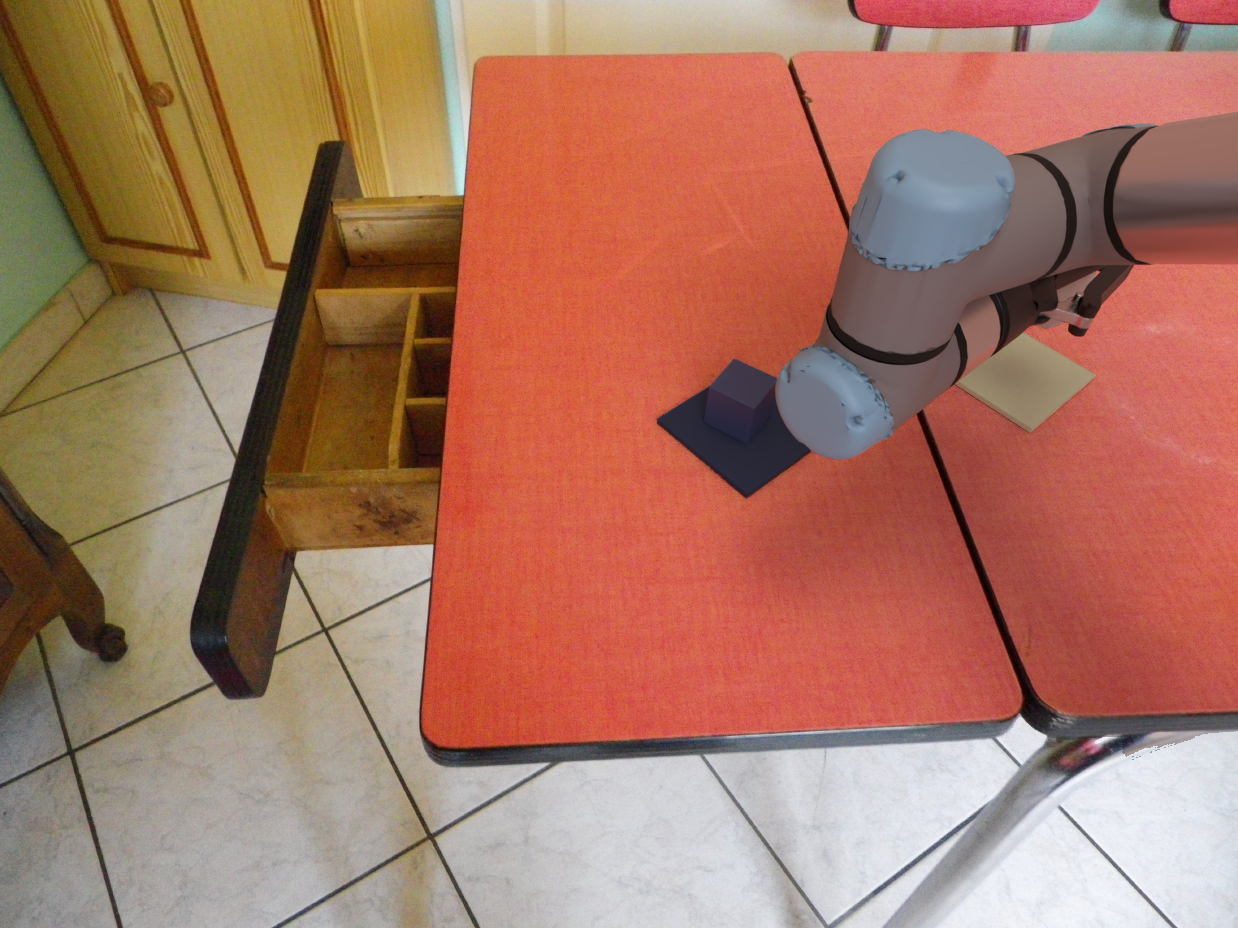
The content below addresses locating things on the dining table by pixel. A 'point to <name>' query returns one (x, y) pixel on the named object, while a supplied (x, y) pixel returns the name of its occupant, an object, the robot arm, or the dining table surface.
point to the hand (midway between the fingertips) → (1120, 201)
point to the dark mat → (735, 445)
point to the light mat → (1026, 381)
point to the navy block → (740, 400)
